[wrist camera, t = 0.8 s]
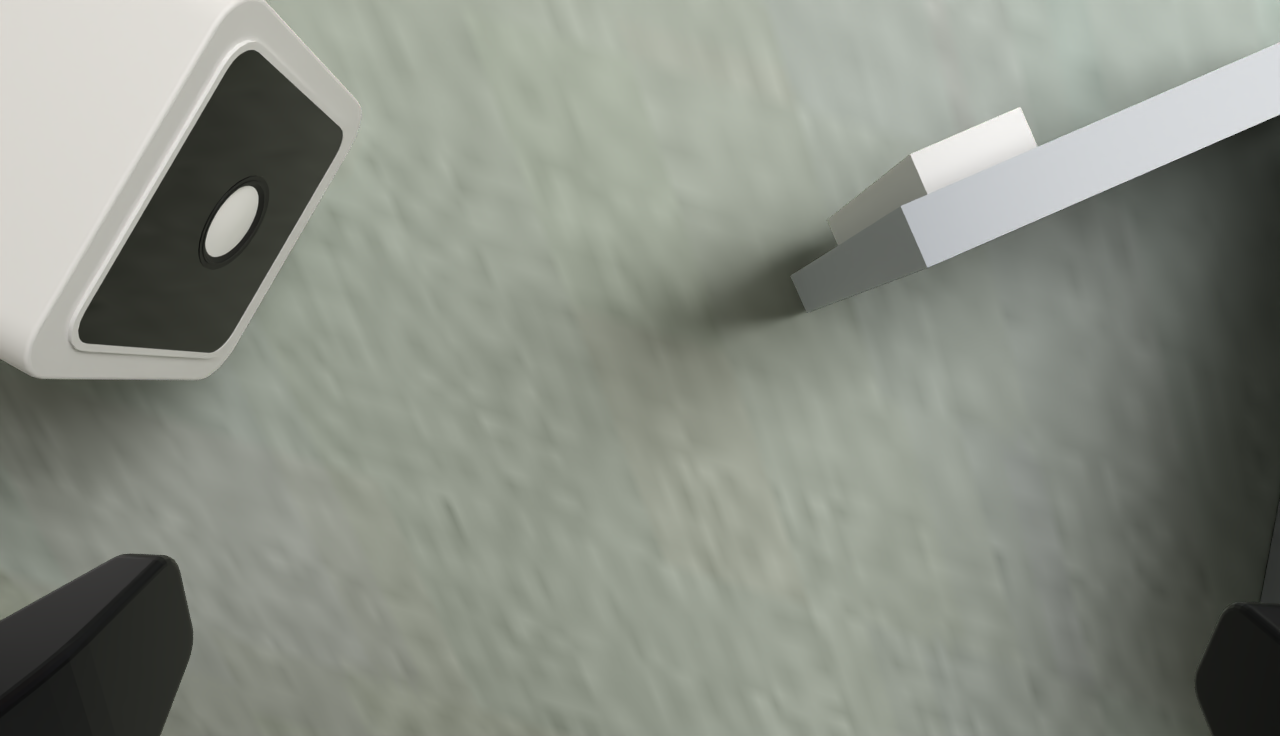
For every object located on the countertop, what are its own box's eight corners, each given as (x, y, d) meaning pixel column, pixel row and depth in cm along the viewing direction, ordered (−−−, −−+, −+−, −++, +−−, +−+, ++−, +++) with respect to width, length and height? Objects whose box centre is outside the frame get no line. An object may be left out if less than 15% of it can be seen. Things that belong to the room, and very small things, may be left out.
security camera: (284, 383, 22) (10, 382, 12) (33, 241, 22) (-450, 123, 12) (414, 159, 22) (248, -22, 12) (165, 18, 22) (-204, -280, 12)
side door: (1266, 34, 23) (1671, -185, 14) (1295, 100, 23) (1719, -77, 14) (777, 245, 22) (879, 156, 13) (806, 313, 22) (927, 268, 13)
